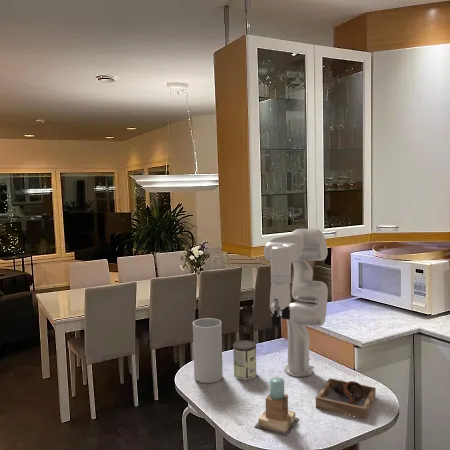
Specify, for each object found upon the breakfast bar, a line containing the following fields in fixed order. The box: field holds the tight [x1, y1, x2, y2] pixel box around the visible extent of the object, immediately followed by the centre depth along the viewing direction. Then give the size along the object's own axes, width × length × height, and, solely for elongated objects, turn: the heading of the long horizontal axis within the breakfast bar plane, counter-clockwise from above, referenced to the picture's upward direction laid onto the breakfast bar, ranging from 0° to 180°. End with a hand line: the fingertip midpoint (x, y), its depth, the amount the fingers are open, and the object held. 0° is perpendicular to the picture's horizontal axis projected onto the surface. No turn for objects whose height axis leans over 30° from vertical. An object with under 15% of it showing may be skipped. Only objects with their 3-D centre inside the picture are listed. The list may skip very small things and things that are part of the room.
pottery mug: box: [332, 380, 365, 405], centre depth 174 cm, size 12×10×8 cm
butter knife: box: [224, 406, 242, 426], centre depth 170 cm, size 1×27×3 cm
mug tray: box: [315, 377, 377, 420], centre depth 172 cm, size 18×18×4 cm
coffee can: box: [232, 339, 257, 381], centre depth 197 cm, size 10×10×14 cm
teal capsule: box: [269, 376, 285, 400], centre depth 157 cm, size 5×5×6 cm
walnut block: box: [265, 393, 289, 421], centre depth 158 cm, size 6×6×7 cm
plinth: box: [254, 409, 300, 437], centre depth 158 cm, size 12×12×3 cm
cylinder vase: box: [192, 317, 224, 384], centre depth 195 cm, size 12×12×25 cm
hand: (281, 322), depth 169 cm, fingers open, 9 cm apart
